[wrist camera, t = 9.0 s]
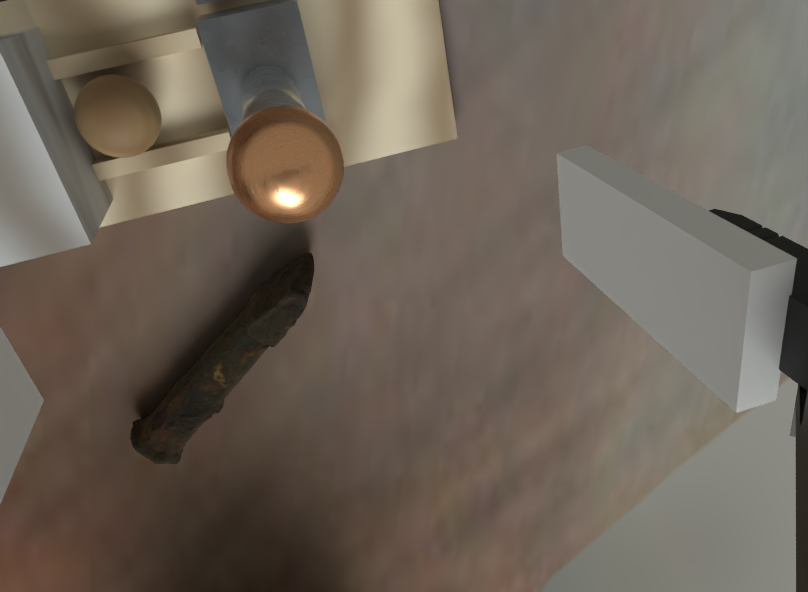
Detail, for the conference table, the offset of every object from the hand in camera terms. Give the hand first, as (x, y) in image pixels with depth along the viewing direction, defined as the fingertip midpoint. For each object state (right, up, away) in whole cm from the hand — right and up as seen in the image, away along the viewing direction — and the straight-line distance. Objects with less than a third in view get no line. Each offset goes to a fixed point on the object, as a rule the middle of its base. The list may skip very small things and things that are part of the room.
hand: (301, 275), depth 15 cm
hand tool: (-11, -4, +33) cm, 35 cm away
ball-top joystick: (-6, +12, +23) cm, 27 cm away
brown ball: (-14, +10, +22) cm, 28 cm away
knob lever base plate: (-9, +12, +24) cm, 29 cm away
